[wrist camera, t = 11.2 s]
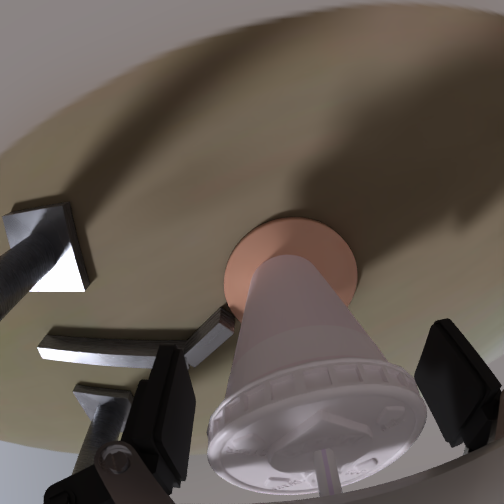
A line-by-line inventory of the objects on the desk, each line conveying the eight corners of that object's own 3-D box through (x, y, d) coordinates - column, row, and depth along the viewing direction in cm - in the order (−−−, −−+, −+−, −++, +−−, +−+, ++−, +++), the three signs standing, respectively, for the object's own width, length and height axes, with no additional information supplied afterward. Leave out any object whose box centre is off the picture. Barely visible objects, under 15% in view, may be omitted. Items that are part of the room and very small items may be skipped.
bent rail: (51, 345, 18) (42, 358, 17) (34, 307, 17) (23, 319, 16) (238, 351, 18) (238, 368, 17) (233, 306, 17) (232, 322, 15)
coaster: (230, 336, 18) (230, 342, 17) (218, 221, 15) (217, 225, 14) (347, 326, 18) (349, 333, 17) (358, 214, 15) (362, 217, 14)
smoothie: (342, 218, 14) (544, 501, 2) (346, 324, 17) (433, 561, 4) (210, 240, 15) (137, 596, 2) (236, 344, 17) (233, 600, 4)
